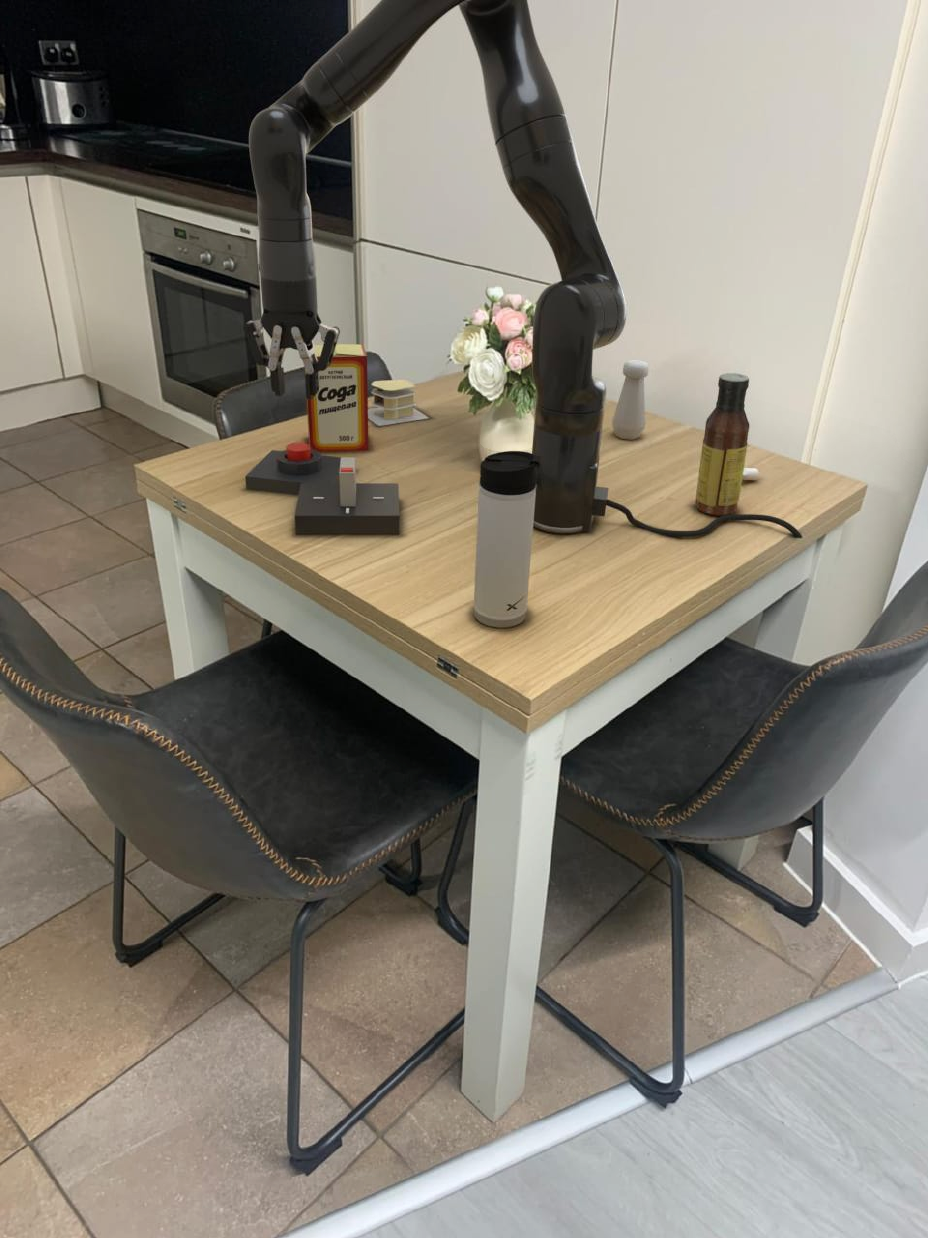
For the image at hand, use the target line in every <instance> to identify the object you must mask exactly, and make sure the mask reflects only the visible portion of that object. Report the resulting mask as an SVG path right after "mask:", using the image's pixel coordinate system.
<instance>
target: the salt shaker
mask: <svg viewBox="0 0 928 1238" xmlns="http://www.w3.org/2000/svg"><path fill="white" fill-rule="evenodd" d="M649 370H650V369H649V364H648V363H647V362H646V361H644V360H640V359H631V360H630V359H629V360H627V361H625V362H624V363H623V367H622V375H623V376H625V378H624V381H623V384H622V388H621V392H620V395H619V398H618V400H617V404H616V407H615V411H614V413H613V417H612V418H611V419H612V420H611V425H612V429H613V432H614V435H615V437H618V438H619V439H622V440H631V441H633V440H636V439H638V438H640V437H641V435H642V433H643V431H644V430H645V428H646V424H647V423H646V400H645V398H646V397H645V396H646V395H645V378H646V377H648V375H649Z"/></svg>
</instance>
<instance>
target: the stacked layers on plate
mask: <svg viewBox="0 0 928 1238" xmlns="http://www.w3.org/2000/svg"><path fill="white" fill-rule="evenodd" d="M371 386H374V387H376V388H373V389H372V390H371V394H372V395H373V400H372V401H371V405H372V406H374V407H373V408H368V420H369V421H371V422H373V424H375V425H376V426H378V427H382V426H383V427H384V426H388V425H394V424H395V425H396V424H401V423H407V422H413V421H419V420H427V419H429V417H428V416H427V415H425V414H424V413H422V412H421V411H419V410H418V409H416V408H415V406H417V404H416V403H415V402H414V396H415V395H417V392H416V391H414V390H412V389H410V388H413V387H416V386H417V385H415V384H414V383H412V382H411V381H409V380H407V379H392V380H391V379H390V380H377V381H373V382H372V383H371Z"/></svg>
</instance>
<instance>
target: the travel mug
mask: <svg viewBox="0 0 928 1238" xmlns="http://www.w3.org/2000/svg"><path fill="white" fill-rule="evenodd" d="M541 463H542V462H541V456H537V455H534V454H532V452H528V451H522V450H506V451H500V452H495V453H492V454H489V455H487V456H485V458H484V459H483V460H482V461H481V463H480V465H479V466H480V469H479V482H478V501H477V520H476V521H477V524H476V546H475V565H474V566H475V567H474V590H473V616H474V617H475V619H476V620H477V622H480V623H481V624H484V625H485V626H488V627H492V628H499V629H501V628H502V629H503V628H511V627H515V626H517V625H520V624H521V623H523V622H524V621H525V619H526V618H527V609H528V597H529V585H530V584H529V583H530V571H531V557H532V544H533V535H534V534H533V532H534V526H533V521H534V508H535V496H536V476H537V471H536V465H537V468H539V467H540V466H541Z"/></svg>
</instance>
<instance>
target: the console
mask: <svg viewBox="0 0 928 1238" xmlns="http://www.w3.org/2000/svg"><path fill="white" fill-rule="evenodd" d="M399 488H400V487H399V483H398V482H397V483H395V482H394V483H393V482H392V483H390V482H389V483H388V482H387V483H385V482H384V483H382V482H381V483H378V482H374V483H373V482H371V483H370V482H367V483H366V482H365V483H364V482H362V483H361V482H360V483H359V482H356V502H355V506H341V504H340V483H301V485H300V490H299V495H297V502H296V507H295V511H294V527H295V536H400V492H399V491H400V489H399Z"/></svg>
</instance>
